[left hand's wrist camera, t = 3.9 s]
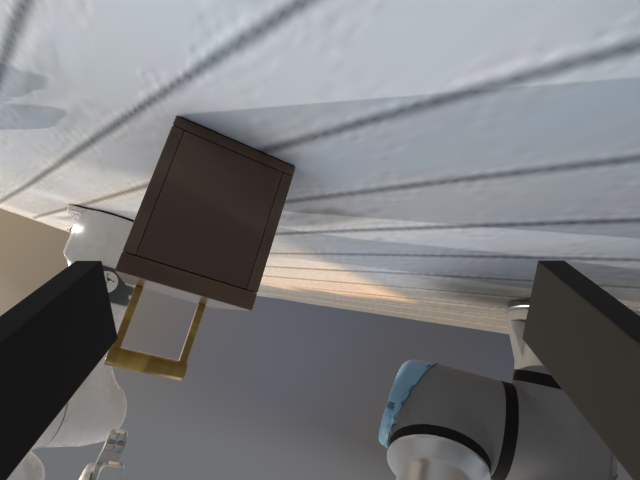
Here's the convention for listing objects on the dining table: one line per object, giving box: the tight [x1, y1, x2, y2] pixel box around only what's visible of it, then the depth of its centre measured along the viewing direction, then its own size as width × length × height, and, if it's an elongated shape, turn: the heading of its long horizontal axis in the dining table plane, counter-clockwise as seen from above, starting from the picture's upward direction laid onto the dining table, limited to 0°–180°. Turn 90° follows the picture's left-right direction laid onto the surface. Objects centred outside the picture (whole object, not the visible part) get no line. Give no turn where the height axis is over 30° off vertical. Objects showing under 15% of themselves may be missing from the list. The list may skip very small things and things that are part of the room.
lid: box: [104, 252, 257, 381], centre depth 35 cm, size 17×9×9 cm, turn 157°
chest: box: [123, 116, 295, 293], centre depth 37 cm, size 16×9×10 cm, turn 157°
